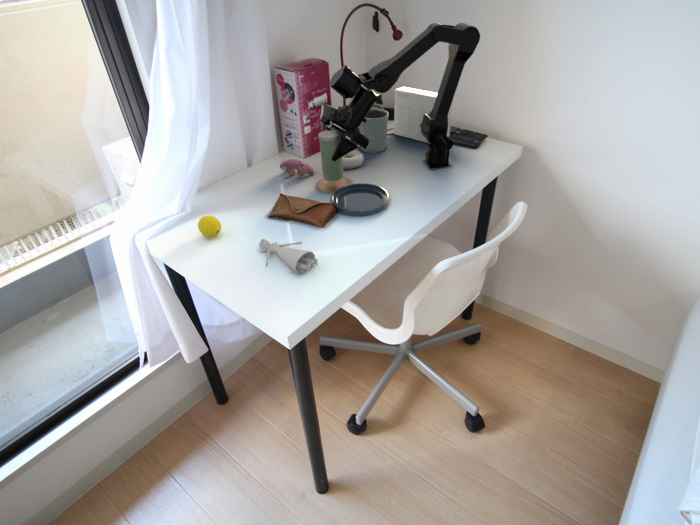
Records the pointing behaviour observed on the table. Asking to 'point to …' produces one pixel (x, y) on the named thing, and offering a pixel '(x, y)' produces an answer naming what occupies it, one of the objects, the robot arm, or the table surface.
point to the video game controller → (296, 167)
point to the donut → (352, 159)
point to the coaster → (332, 184)
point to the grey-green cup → (375, 130)
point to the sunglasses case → (303, 210)
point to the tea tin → (330, 155)
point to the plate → (360, 199)
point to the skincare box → (414, 112)
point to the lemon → (209, 226)
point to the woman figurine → (290, 255)
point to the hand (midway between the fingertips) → (327, 156)
